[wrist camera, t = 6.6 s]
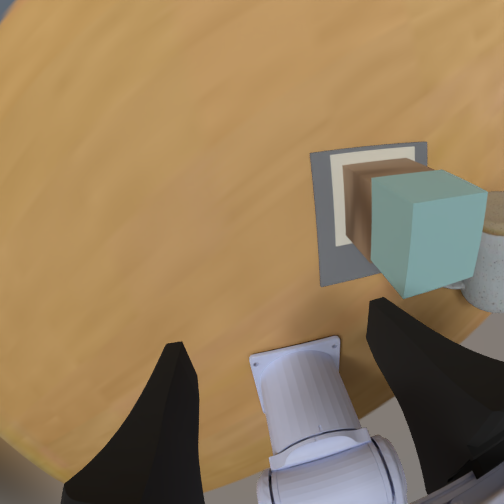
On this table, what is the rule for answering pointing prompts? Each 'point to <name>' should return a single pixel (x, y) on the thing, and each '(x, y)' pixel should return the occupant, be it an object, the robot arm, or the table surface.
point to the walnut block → (368, 196)
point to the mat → (333, 207)
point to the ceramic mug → (488, 261)
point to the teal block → (426, 229)
